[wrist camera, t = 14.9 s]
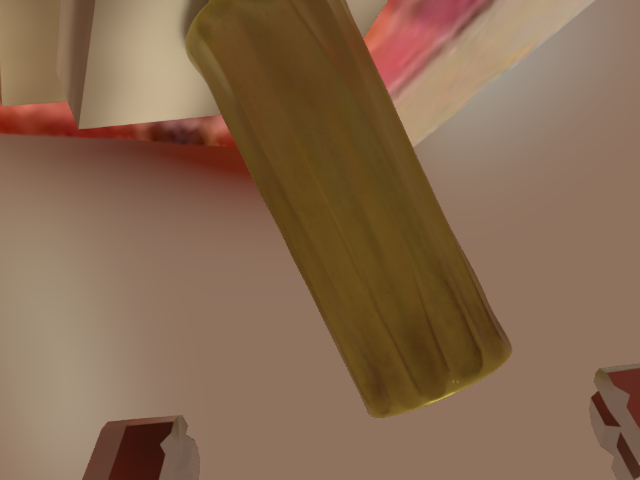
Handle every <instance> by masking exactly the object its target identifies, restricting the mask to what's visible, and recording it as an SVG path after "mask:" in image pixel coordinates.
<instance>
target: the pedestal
mask: <svg viewBox="0 0 640 480" xmlns="http://www.w3.org/2000/svg"><path fill="white" fill-rule="evenodd" d="M208 1H209V0H0V102H1V105H2V106H14V105H28V104H42V103H55V102H68V104H69V106H70V109H71V111H72V114H73V116H74V119H75V122H76V124H77V127H78V129H86V128H96V127H106V126H116V125H125V124H135V123H145V122H155V121H165V120H174V119H184V118H194V117H204V116H214V115H221V113H220V110H219V108H218V106H217V104H216V102H215V99H214V97H213V95H212V93H211V91H210V89H209V87H208V85H207V83H206V82H205V80H204V79H203V77H202V76H201V75H200V73H199V72H198V71H197V70H196V69H195V67H194V66H193V65H192V63H191V62H190V60H189V58H188V56H187V53H186V38H187V34H188V31H189V28H190V26H191V23H192V21H193V19H194V18H195V17H196V15H197V14H198V12H199V11H200V10H201V9H202V8H203V7H204V5H205V4H206V3H207V2H208ZM387 1H388V0H346V2H347V4H348V7H349V10H350V12H351V14H352V16H353V18H354V21H355V23H356V25H357V27H358V29H359V31H360V33H361V35H362V38H364V37H365V35H366V34H367V32H368V31H369V29H370V27H371V26H372V24H373V23H374V21H375V20H376V18H377V17H378V15H379V14H380V12H381V10H382V9H383V7H384V6H385V4H386V3H387Z"/></svg>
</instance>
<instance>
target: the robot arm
mask: <svg viewBox="0 0 640 480" xmlns="http://www.w3.org/2000/svg"><path fill="white" fill-rule="evenodd" d="M594 383H595V385H596V387H597V389H598V391H597V392H596V393H595V394H594V395H593V396H592V397H591V400H590V408H589V409H590V418H591V424H592V427H593V430H594V433H595V435H596V437H597V439H598V442H599V444H600V446H601V447H602V448H604V449H605V450H607V451H608V452H609V453H611V454H612V455H613V456H614V459H613V463H612V470H613V472H614V474H615V476H616V478H617V480H640V363H639V364H632V365H623V366H616V367H607V368H600V369H599V370H598V371H597V372H596V374H595V378H594ZM187 426H188V425H187V423H186V421H185V420H184V417H183V416H182V415H180V416H168V417H155V418H143V419H131V420H122V421H111V422H107V423H106V425H105V426H104V427H103V428H102V430H101V432H100V435H99V437H98V440H97V442H96V445H95V448H94V451H93V453H92V456H91V459H90V461H89V463H88V466H87V469H86V471H85V474H84V477H83V479H82V480H198V479H199V473H200V466H199V465H200V460H199V459H200V457H199V453H198V447H197V445H196V443H195V440H194V439H193V438H191V437H189V436H187V435H186V431H187Z"/></svg>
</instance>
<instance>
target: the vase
mask: <svg viewBox="0 0 640 480" xmlns="http://www.w3.org/2000/svg"><path fill="white" fill-rule="evenodd" d="M186 53H187V56H188V58H189V60H190V62H191V63H192V65H193V66H194V67H195V69H196V70H197V71H198V72H199V73H200V75H201V76H202V77H203V79H204V80H205V82H206V83H207V85H208V87H209V89H210V91H211V93H212V95H213V97H214V99H215V102H216V104H217V106H218V108H219V110H220V113H221V115H222V117H223V119H224V121H225V123H226V125H227V127H228V129H229V131H230V133H231V135H232V137H233V139H234V141H235V143H236V145H237V146H238V148H239V150H240V152H241V154H242V156H243V159H244V161H245V163H246V165H247V167H248V169H249V172H250V174H251V176H252V178H253V180H254V182H255V184H256V186H257V188H258V190H259V192H260V194H261V196H262V198H263V200H264V202H265V204H266V206H267V207H268V209H269V211H270V213H271V215H272V216H273V219H274V220H275V222H276V224H277V226H278V228H279V230H280V232H281V234H282V236H283V238H284V240H285V242H286V245H287V247H288V249H289V251H290V253H291V255H292V257H293V259H294V261H295V263H296V265H297V267H298V269H299V271H300V273H301V275H302V277H303V279H304V281H305V283H306V285H307V287H308V289H309V291H310V293H311V295H312V297H313V299H314V301H315V303H316V305H317V307H318V309H319V312H320V314H321V316H322V318H323V320H324V322H325V324H326V326H327V328H328V330H329V332H330V334H331V336H332V338H333V340H334V342H335V345H336V346H337V349H338V351H339V353H340V354H341V357H342V359H343V361H344V363H345V365H346V367H347V369H348V371H349V373H350V375H351V377H352V379H353V381H354V383H355V385H356V387H357V389H358V391H359V393H360V395H361V398H362V400H363V402H364V405H365V407H366V409H367V412H368V414H369V415H371V416H372V417H375V418H385V417H390V416H395V415H398V414H403V413H406V412H409V411H412V410H415V409H418V408H421V407H424V406H427V405H429V404H432V403H434V402H437V401H439V400H442V399H444V398H446V397H448V396H451V395H453V394H455V393H457V392H459V391H461V390H463V389H465V388H467V387H469V386H470V385H472V384H474V383H476V382H478V381H479V380H481V379H483V378H485V377H486V376H488V375H490V374H491V373H493V372H494V371H495V370H497V369H498V368H499V367H501V366H502V365H503V364H504V363H505V362H506V361H507V360H508V359H509V357H510V355H511V354H512V346H511V344H510V341H509V339H508V337H507V335H506V334H505V332H504V330H503V329H502V327H501V325H500V323H499V322H498V320H497V318H496V317H495V315H494V313H493V311H492V309H491V307H490V305H489V303H488V301H487V298H486V296H485V294H484V291H483V289H482V287H481V285H480V283H479V280H478V278H477V276H476V275H475V272H474V270H473V268H472V267H471V265H470V263H469V261H468V259H467V257H466V256H465V254H464V252H463V250H462V249H461V246H460V245H459V243H458V241H457V239H456V237H455V235H454V234H453V232H452V230H451V228H450V226H449V224H448V222H447V220H446V218H445V216H444V214H443V212H442V210H441V207H440V205H439V203H438V201H437V199H436V197H435V195H434V192H433V190H432V188H431V186H430V184H429V181H428V179H427V177H426V175H425V173H424V171H423V169H422V167H421V164H420V162H419V160H418V159H417V156H416V154H415V152H414V149H413V147H412V145H411V142H410V140H409V138H408V136H407V134H406V131H405V129H404V127H403V125H402V122H401V120H400V118H399V116H398V114H397V111H396V109H395V107H394V104H393V102H392V100H391V97H390V95H389V93H388V91H387V89H386V86H385V84H384V82H383V80H382V78H381V76H380V74H379V72H378V70H377V68H376V66H375V64H374V61H373V59H372V57H371V55H370V53H369V51H368V48H367V46H366V44H365V42H364V40H363V38H362V35H361V33H360V31H359V29H358V27H357V25H356V23H355V21H354V18H353V16H352V14H351V12H350V10H349V7H348V4H347V2H346V0H209V1H208V2H207V3H206V4H205V5H204V7H203V8H202V9H201V10H200V11H199V12H198V14H197V15H196V17H195V18H194V19H193V21H192V23H191V26H190V28H189V31H188V34H187V38H186Z"/></svg>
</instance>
